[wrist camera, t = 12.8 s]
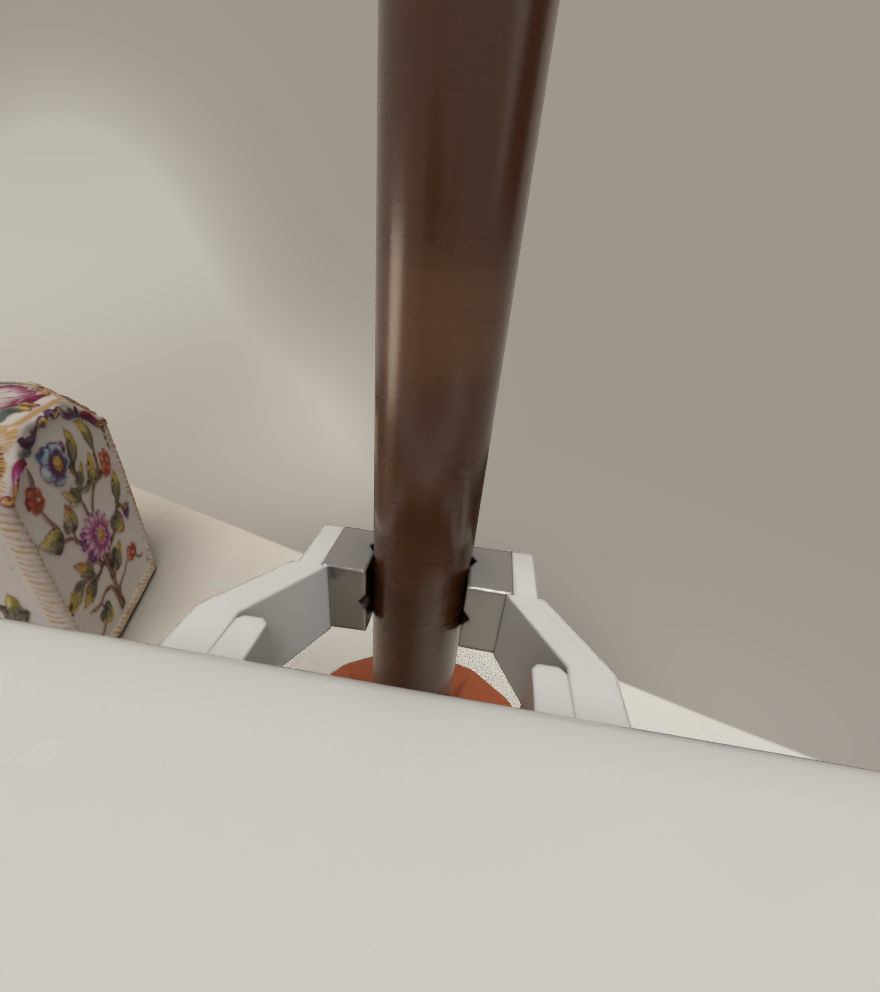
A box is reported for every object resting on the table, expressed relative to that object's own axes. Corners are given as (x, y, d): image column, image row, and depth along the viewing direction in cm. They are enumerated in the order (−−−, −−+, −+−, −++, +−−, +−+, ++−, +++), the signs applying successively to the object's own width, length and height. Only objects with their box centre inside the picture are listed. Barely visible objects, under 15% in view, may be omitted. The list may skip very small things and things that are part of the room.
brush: (395, 909, 14) (492, -194, 3) (341, 827, 16) (281, -37, 5) (458, 830, 16) (650, 12, 5) (404, 766, 18) (459, 66, 7)
